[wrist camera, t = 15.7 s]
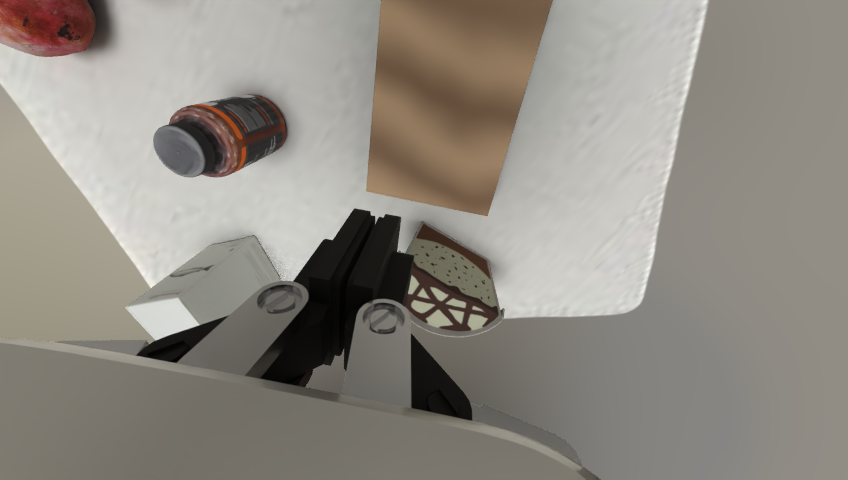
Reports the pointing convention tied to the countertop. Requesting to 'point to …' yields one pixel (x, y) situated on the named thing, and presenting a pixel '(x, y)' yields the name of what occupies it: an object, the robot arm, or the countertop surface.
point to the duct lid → (449, 96)
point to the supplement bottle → (220, 136)
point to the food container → (450, 286)
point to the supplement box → (204, 288)
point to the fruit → (47, 26)
